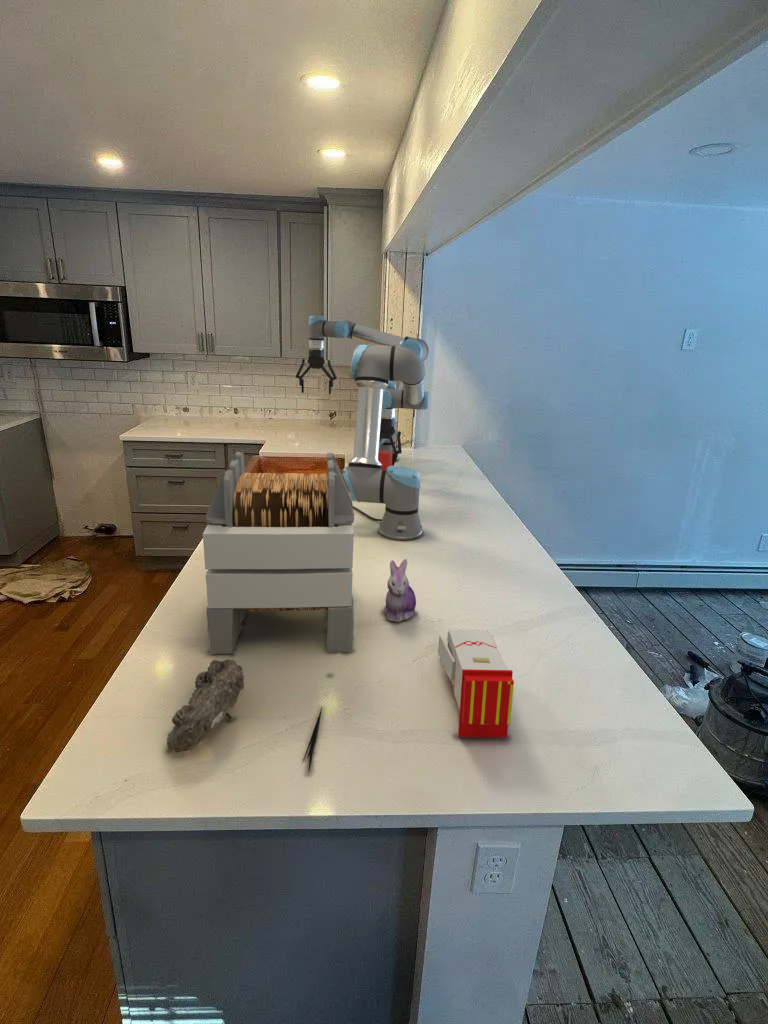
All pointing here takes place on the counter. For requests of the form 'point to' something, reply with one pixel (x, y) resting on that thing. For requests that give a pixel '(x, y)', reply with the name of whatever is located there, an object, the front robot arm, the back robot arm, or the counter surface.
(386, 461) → the tin
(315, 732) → the feather
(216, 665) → the fossil
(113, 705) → the counter surface
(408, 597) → the figurine
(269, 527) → the record crate stand
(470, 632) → the toy
